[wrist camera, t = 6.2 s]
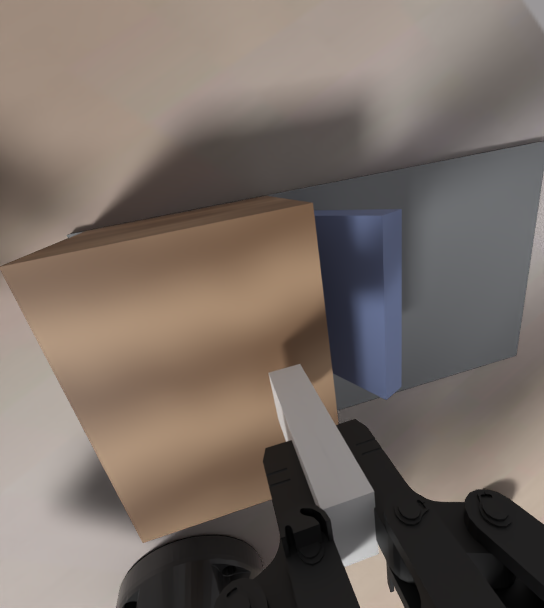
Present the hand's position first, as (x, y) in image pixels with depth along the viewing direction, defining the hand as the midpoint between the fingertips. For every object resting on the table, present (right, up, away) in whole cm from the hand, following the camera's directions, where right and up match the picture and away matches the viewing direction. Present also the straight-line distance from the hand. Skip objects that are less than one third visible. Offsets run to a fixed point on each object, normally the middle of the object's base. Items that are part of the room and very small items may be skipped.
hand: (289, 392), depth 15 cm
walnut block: (-6, +3, +10) cm, 12 cm away
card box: (+4, +4, +7) cm, 9 cm away
